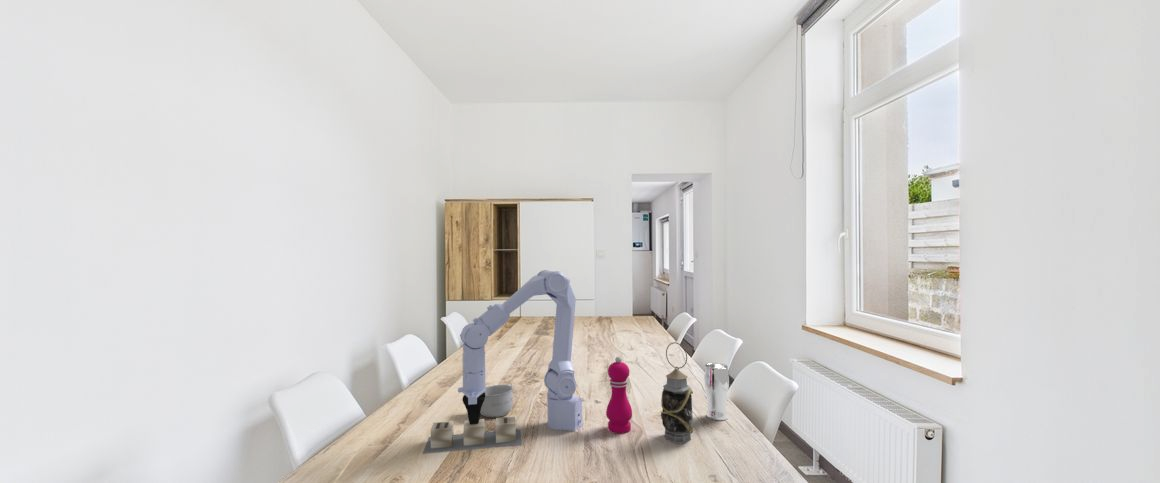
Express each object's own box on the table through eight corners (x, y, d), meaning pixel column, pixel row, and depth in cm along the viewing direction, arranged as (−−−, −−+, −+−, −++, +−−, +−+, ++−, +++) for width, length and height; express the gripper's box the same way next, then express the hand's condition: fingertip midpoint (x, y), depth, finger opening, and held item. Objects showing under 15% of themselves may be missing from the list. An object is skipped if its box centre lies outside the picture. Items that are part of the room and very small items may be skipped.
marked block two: (453, 438, 118) (453, 420, 118) (451, 446, 113) (451, 428, 113) (433, 440, 117) (433, 422, 118) (430, 448, 112) (430, 429, 113)
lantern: (700, 438, 118) (698, 342, 119) (681, 447, 113) (680, 347, 113) (673, 429, 125) (671, 338, 125) (654, 437, 119) (653, 342, 120)
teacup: (493, 425, 129) (493, 396, 130) (469, 417, 136) (469, 390, 136) (527, 411, 140) (527, 385, 141) (503, 404, 147) (503, 379, 147)
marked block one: (515, 433, 121) (514, 416, 121) (515, 441, 116) (515, 423, 116) (496, 435, 120) (495, 417, 120) (495, 442, 115) (495, 424, 115)
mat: (520, 432, 124) (520, 429, 124) (522, 448, 114) (522, 444, 114) (429, 439, 120) (429, 436, 120) (422, 456, 110) (422, 453, 110)
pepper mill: (631, 435, 121) (630, 360, 121) (604, 433, 122) (603, 359, 123) (633, 425, 128) (632, 354, 128) (608, 423, 130) (607, 353, 130)
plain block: (484, 436, 120) (484, 418, 120) (484, 443, 115) (483, 426, 115) (465, 437, 119) (465, 420, 119) (463, 445, 114) (463, 427, 114)
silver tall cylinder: (726, 412, 137) (725, 363, 137) (732, 421, 130) (731, 369, 130) (703, 412, 137) (702, 362, 138) (707, 420, 131) (706, 368, 131)
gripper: (460, 364, 124) (460, 414, 123) (455, 379, 109) (455, 436, 109) (486, 363, 125) (487, 412, 125) (485, 377, 111) (485, 433, 110)
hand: (474, 423), depth 117 cm, fingers closed, pressing on plain block
